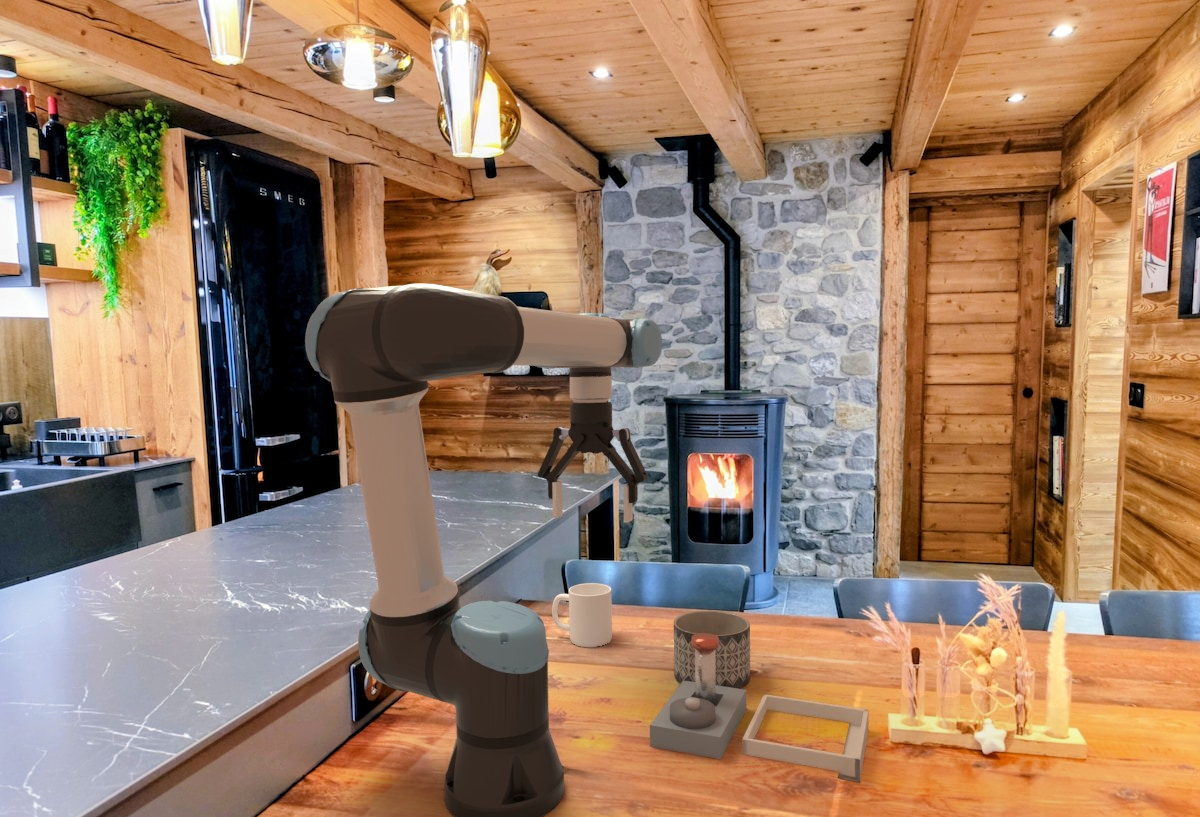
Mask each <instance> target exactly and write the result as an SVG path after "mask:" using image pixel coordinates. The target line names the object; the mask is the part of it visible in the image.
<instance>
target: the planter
mask: <svg viewBox="0 0 1200 817" xmlns="http://www.w3.org/2000/svg"><path fill="white" fill-rule="evenodd" d="M699 633H709V634H714V635H716V636H718V638H719V647H718V648H717V649H715V661H716V685H717V686H724V687H731V688H738V689H742V688H744V687H747V685H748V684H749V683H750V680H751V637H750V636H751V624H750V621H749V620H748V618H746V617H744V616H743V615H739V614H738V613H734V612H730V611H724V610H715V609H714V610H713V609H712V610H708V609H707V610H706V609H705V610H704V609H703V610H695V611H689V612H684V613H683V614H679V615H677V616H676V617H675V619H674V620H673V655H674V656H673V662H674V663H673V665H674V666H673V670H674V671H673V673H674V675H673V676H674V679H675V680H676V682H678V683H679V685H680V684H681V683H682V681H690V682H695V649H694V648H693V647H692V638H691V637H692V636H693V635H695V634H699Z"/></svg>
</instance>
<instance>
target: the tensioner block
mask: <svg viewBox="0 0 1200 817" xmlns="http://www.w3.org/2000/svg"><path fill="white" fill-rule="evenodd" d="M746 711H747V689H742V688H740V689H738V688H731V687H724V686H717V685H716V706H714V704H713V703H711V702H710V701H707V700H705V699H701V698H696V687H695V682H690V681H682V683H681V684H680V683H679V686H678V687H677V688H676V689H675V691H674V692H673V694H671V696H670V698H668V700H667V702H665V704H664V706H663V707H662V708H661V709H660V711H659V712H658V713H657V715H656V716H655V717H654V719H653V720H652V722H651V723H650V724H649V747H652V748H657V749H662V750H669V751H673V752H679V753H683V754H689V755H695V756H700V757H706V758H712V759H717V760H721V759H722V757H723V755H724V754H725V752H726V750H727V748H728V746H729V744H730V742H731V740H732V738H733V736H734V735H735V732H736V730H737V728H738V727H739V725H740V723H741V721H742V719H743V717H744V714H745V713H746Z"/></svg>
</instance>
